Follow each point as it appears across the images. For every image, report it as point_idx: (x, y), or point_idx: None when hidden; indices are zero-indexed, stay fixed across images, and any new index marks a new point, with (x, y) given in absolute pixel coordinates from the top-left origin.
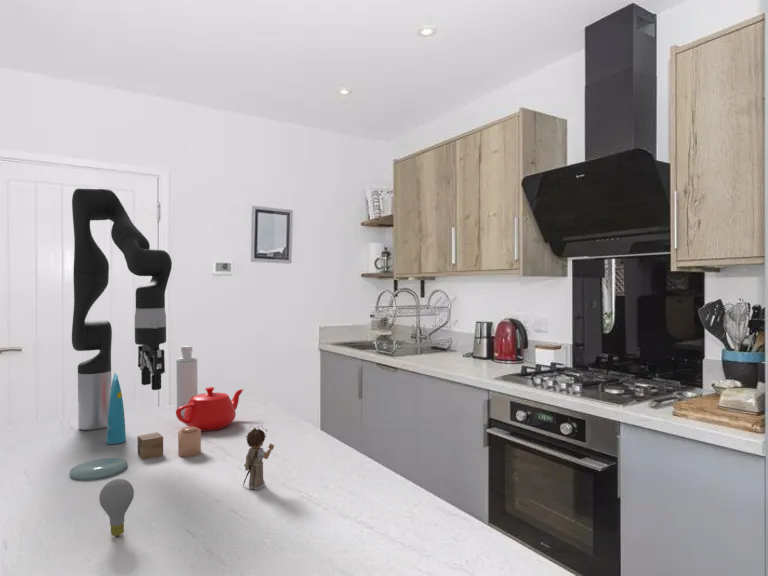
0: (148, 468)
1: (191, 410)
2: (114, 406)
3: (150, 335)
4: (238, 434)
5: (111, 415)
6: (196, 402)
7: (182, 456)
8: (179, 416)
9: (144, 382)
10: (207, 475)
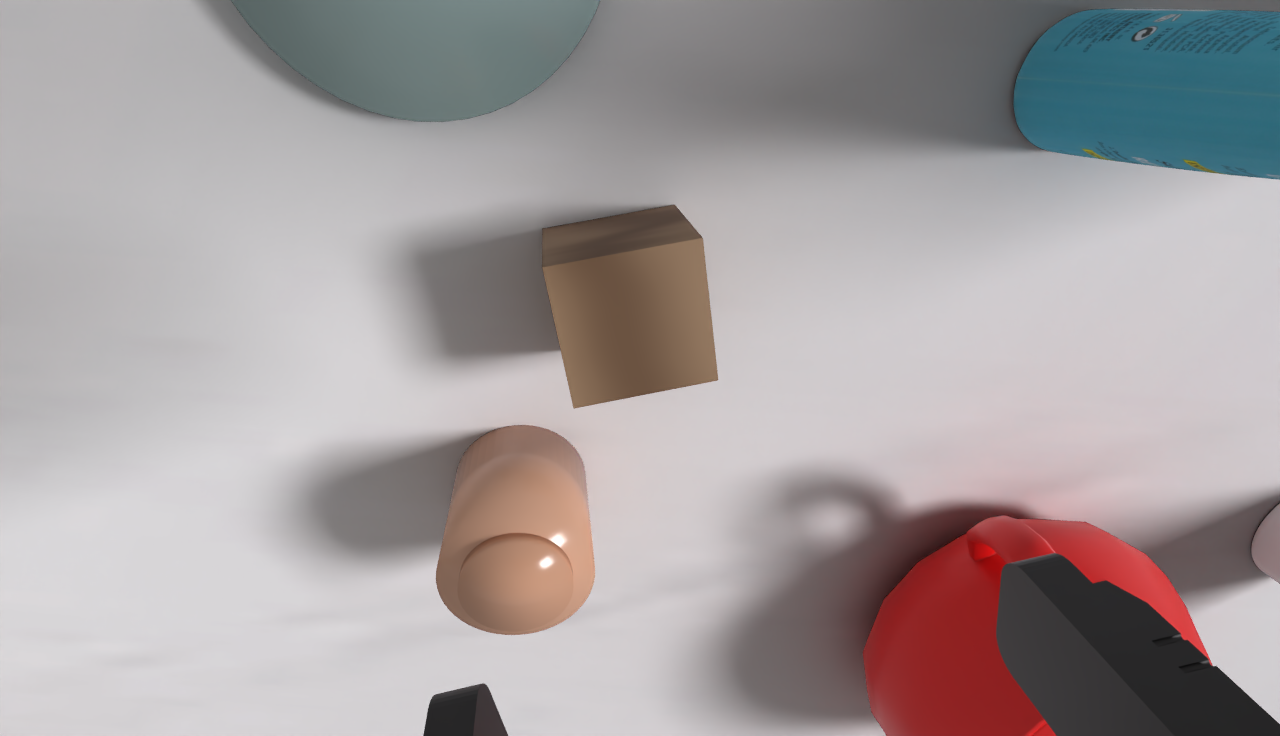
0: (324, 247)
1: None
2: None
3: None
4: (729, 699)
5: (1238, 44)
6: None
7: (472, 444)
8: (990, 537)
9: (1028, 611)
10: (65, 526)
